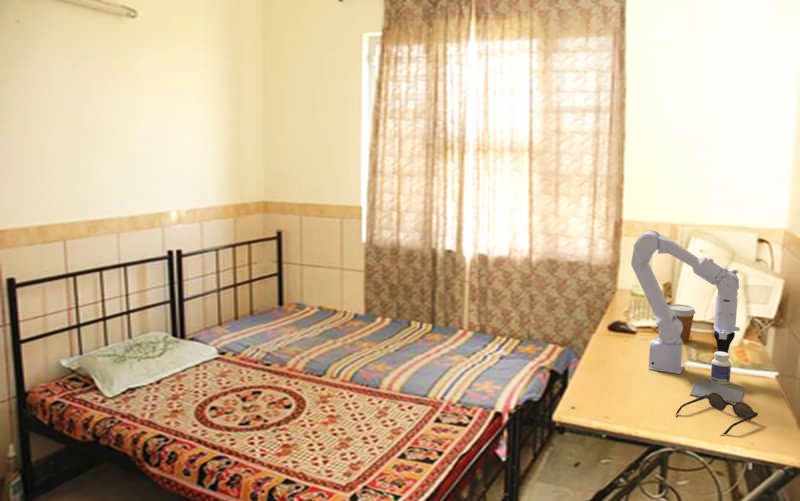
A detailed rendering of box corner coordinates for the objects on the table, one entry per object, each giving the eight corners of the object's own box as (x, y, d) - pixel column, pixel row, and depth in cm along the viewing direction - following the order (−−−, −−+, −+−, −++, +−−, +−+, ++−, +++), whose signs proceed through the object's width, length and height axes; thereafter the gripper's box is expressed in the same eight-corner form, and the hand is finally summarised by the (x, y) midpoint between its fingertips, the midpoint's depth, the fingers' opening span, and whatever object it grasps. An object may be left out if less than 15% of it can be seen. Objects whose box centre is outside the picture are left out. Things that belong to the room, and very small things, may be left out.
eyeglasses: (757, 424, 170) (759, 406, 169) (722, 439, 162) (724, 420, 161) (705, 405, 182) (706, 388, 181) (670, 418, 175) (672, 400, 174)
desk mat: (690, 395, 188) (690, 394, 188) (694, 381, 198) (695, 380, 198) (741, 404, 181) (741, 402, 181) (743, 389, 192) (743, 387, 192)
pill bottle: (731, 385, 194) (734, 356, 193) (712, 384, 195) (714, 356, 194) (726, 379, 199) (728, 351, 198) (708, 378, 200) (710, 350, 199)
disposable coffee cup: (697, 344, 232) (700, 310, 230) (670, 344, 232) (672, 311, 230) (686, 335, 241) (688, 303, 239) (660, 336, 242) (662, 304, 239)
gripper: (739, 320, 190) (736, 365, 193) (742, 308, 203) (738, 350, 205) (712, 317, 194) (709, 361, 196) (716, 305, 206) (713, 347, 209)
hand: (722, 355), depth 201 cm, fingers closed
